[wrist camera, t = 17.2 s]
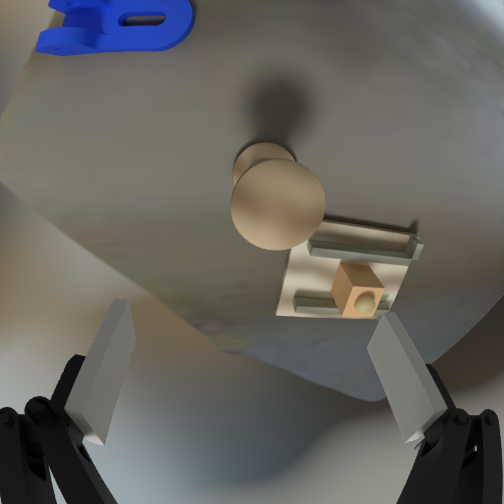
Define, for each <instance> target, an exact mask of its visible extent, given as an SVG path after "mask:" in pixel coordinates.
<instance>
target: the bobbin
mask: <svg viewBox="0 0 504 504" xmlns="http://www.w3.org/2000/svg"><path fill="white" fill-rule="evenodd" d="M233 181H234V185H235V186H234V189H233V192H232V197H231V214H232V219H233V221H234V224H235V226H236V228H237V230H238V231H239V232H240V234H241V235H242V236H243V237H244V238H245V239H246V240H248V241H249V242H250V243H252V244H254V245H256V246H258V247H260V248H264V249H268V250H285V249H289V248H293V247H295V246H298V245H300V244H302V243H303V242H305V241H306V240H307V239H309V238H310V237H311V236H312V235H313V234H314V233H315V232H316V230H317V229H318V227H319V226H320V224H321V222H322V220H323V217H324V213H325V204H326V202H325V194H324V190H323V188H322V185H321V184H320V182H319V180H318V179H317V178H316V176H315V175H314V174H313V173H312V172H311V171H310V170H309V169H308V168H306V167H305V166H303V165H302V164H300V163H298V162H296V161H295V160H294V158H293V156H292V155H291V154H290V153H289V152H288V151H287V150H286V149H284V148H283V147H281V146H279V145H277V144H274V143H268V142H262V143H257V144H253V145H251V146H249V147H248V148H246V149H245V150H244V151H242V153H241V154H240V155H239V156H238V158H237V159H236V161H235V164H234V168H233Z"/></svg>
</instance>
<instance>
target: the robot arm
mask: <svg viewBox="0 0 504 504" xmlns="http://www.w3.org/2000/svg"><path fill="white" fill-rule="evenodd" d="M135 342H136V335H135V330H134V325H133V321H132V315H131V310H130V305H129V300H126V299H117V298H115V299H114V301H113V303H112V304H111V306H110V308H109V310H108V312H107V314H106V316H105V318H104V320H103V322H102V324H101V326H100V328H99V330H98V333H97V334H96V337H95V338H94V341H93V343H92V345H91V347H90V349H89V351H88V353H87V355H86V356H81V355H77V354H75V355H74V356H73V357H72V358H71V359H70V360H69V361H68V363H67V364H66V367H65V369H64V372H63V373H62V375H61V377H60V380H59V381H58V384H57V386H56V388H55V390H54V393H53V395H52V397H51V400H49V399H47V398H46V397H42V396H37V397H34V398H32V399H30V400H29V401H28V402H27V404H26V406H25V409H24V411H25V414H18V413H17V412H16V411H15V410H14V409H12V408H11V407H4V408H2V409H0V497H1V503H2V504H57V502H56V499H55V494H54V490H53V485H52V481H51V476H50V471H49V467H50V469H51V472H52V474H53V476H54V478H55V481H56V482H57V485H58V487H59V489H60V491H61V493H62V495H63V497H64V499H65V501H66V503H67V504H118V503H117V502H116V500H115V499H114V497H113V496H112V494H111V492H110V491H109V489H108V488H107V486H106V485H105V483H104V481H103V480H102V478H101V476H100V474H99V473H98V471H97V469H96V467H95V465H94V464H93V462H92V460H91V458H90V456H89V454H88V452H87V451H86V449H85V447H84V445H83V443H82V441H83V438H84V436H85V437H86V439H87V440H88V441H90V442H93V443H96V444H101V445H105V442H106V438H107V434H108V430H109V426H110V422H111V419H112V415H113V412H114V408H115V405H116V402H117V398H118V395H119V391H120V388H121V385H122V381H123V378H124V375H125V372H126V369H127V366H128V363H129V359H130V357H131V354H132V351H133V348H134V345H135ZM367 350H368V352H369V355H370V357H371V359H372V362H373V364H374V366H375V369H376V371H377V374H378V376H379V378H380V381H381V383H382V386H383V388H384V391H385V393H386V396H387V398H388V400H389V403H390V406H391V408H392V411H393V413H394V416H395V418H396V421H397V424H398V426H399V429H400V432H401V435H402V437H403V440H404V443H406V442H410V441H413V440H417V439H418V438H419V437H420V436H421V435H422V434H423V433H424V436H425V438H424V439H423V440H422V441H421V442H420V443H419V444H418V445H417V446H416V447H415V448H414V449H415V450H416V449H417V448H418V447H420V449H419V452H418V454H417V457H416V460H415V463H414V465H413V468H412V470H411V472H410V475H409V477H408V479H407V482H406V484H405V486H404V488H403V491H402V493H401V495H400V497H399V499H398V501H397V503H396V504H502V490H503V489H502V488H503V469H502V448H501V437H500V427H499V420H498V416H497V415H496V413H495V412H494V411H492V410H490V409H486V410H484V411H483V412H482V413H481V414H480V415H468V414H467V412H466V411H464V410H463V409H459V408H456V407H455V405H454V403H453V401H452V399H451V397H450V395H449V393H448V391H447V389H446V388H445V386H444V385H443V382H442V380H440V376H439V375H438V373H437V371H436V370H435V369H434V368H433V367H432V366H431V365H430V364H424V362H423V360H422V358H421V356H420V355H419V353H418V351H417V349H416V348H415V346H414V344H413V342H412V341H411V339H410V337H409V336H408V334H407V332H406V331H405V329H404V327H403V326H402V324H401V322H400V321H399V319H398V317H397V316H396V314H395V312H392V313H383V314H382V317H381V319H380V321H379V323H378V325H377V328H376V330H375V332H374V334H373V336H372V338H371V340H370V343H369V345H368V347H367ZM475 446H477V451H475Z"/></svg>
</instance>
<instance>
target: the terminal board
mask: <svg viewBox="0 0 504 504" xmlns="http://www.w3.org/2000/svg"><path fill="white" fill-rule="evenodd" d="M423 245H424V244H423V243H421V242H420V241H419V236H417V235H416V234H413V233H407V232H402V231H396V230H390V229H384V228H378V227H372V226H366V225H359V224H353V223H346V222H340V221H333V220H326V219H323V220H322V222H321V224H320V226H319V227H318V229H317V230H316V232H315V233H314V234H313V235H312V236H311V237H310V238H309V239H307V240H306V241H305V242H303V243H302V244H300V245H298V246H295V247H293V248H289V253H288V257H287V262H286V266H285V270H284V275H283V279H282V284H281V288H280V292H279V296H278V301H277V305H276V309H275V312H276V315H281V316H299V317H320V318H353V319H377V321H378V322H379V321H380V319H381V317H382V314H383V313H391V312H390V308H391V306H392V303H393V301H394V299H395V297H396V295H397V292H398V290H399V288H400V286H401V283H402V281H403V278H404V276H405V274H406V271H407V269H408V266H409V265H410V263H411V260H412V259H414V260H418V258H419V255H420V253H421V250H422V248H423ZM339 263H346V264H356V265H366V266H370V268H371V269H372V271H373V272H374V273H375V275H376V276H377V277H378V279H379V280H380V282H381V283H382V285H383V286H384V287H385V290H384V292H383V295H382V297H381V299H380V302H379V304H378V306H377V308H376V311H375V313H374V315H373V317H342V316H341V314H340V312H339V309H338V307H337V305H336V303H335V300H334V298H333V296H332V294H331V292H330V291H331V288H332V285H333V282H334V279H335V276H336V273H337V269H338V266H339Z"/></svg>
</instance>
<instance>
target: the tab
mask: <svg viewBox="0 0 504 504" xmlns="http://www.w3.org/2000/svg"><path fill="white" fill-rule="evenodd" d="M384 290H385V287H384V286H383V285H382V283H381V282H380V280H379V279H378V277H377V276H376V275H375V273H374V272H373V271H372V269H371V268H370V266H366V265H356V264H346V263H339V266H338V269H337V273H336V276H335V279H334V282H333V285H332V288H331V291H330V292H331V294H332V296H333V298H334V300H335V303H336V305H337V307H338V309H339V312H340V314H341V316H342V317H373V315H374V313H375V311H376V308H377V306H378V304H379V302H380V299H381V297H382V295H383V292H384Z"/></svg>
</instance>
